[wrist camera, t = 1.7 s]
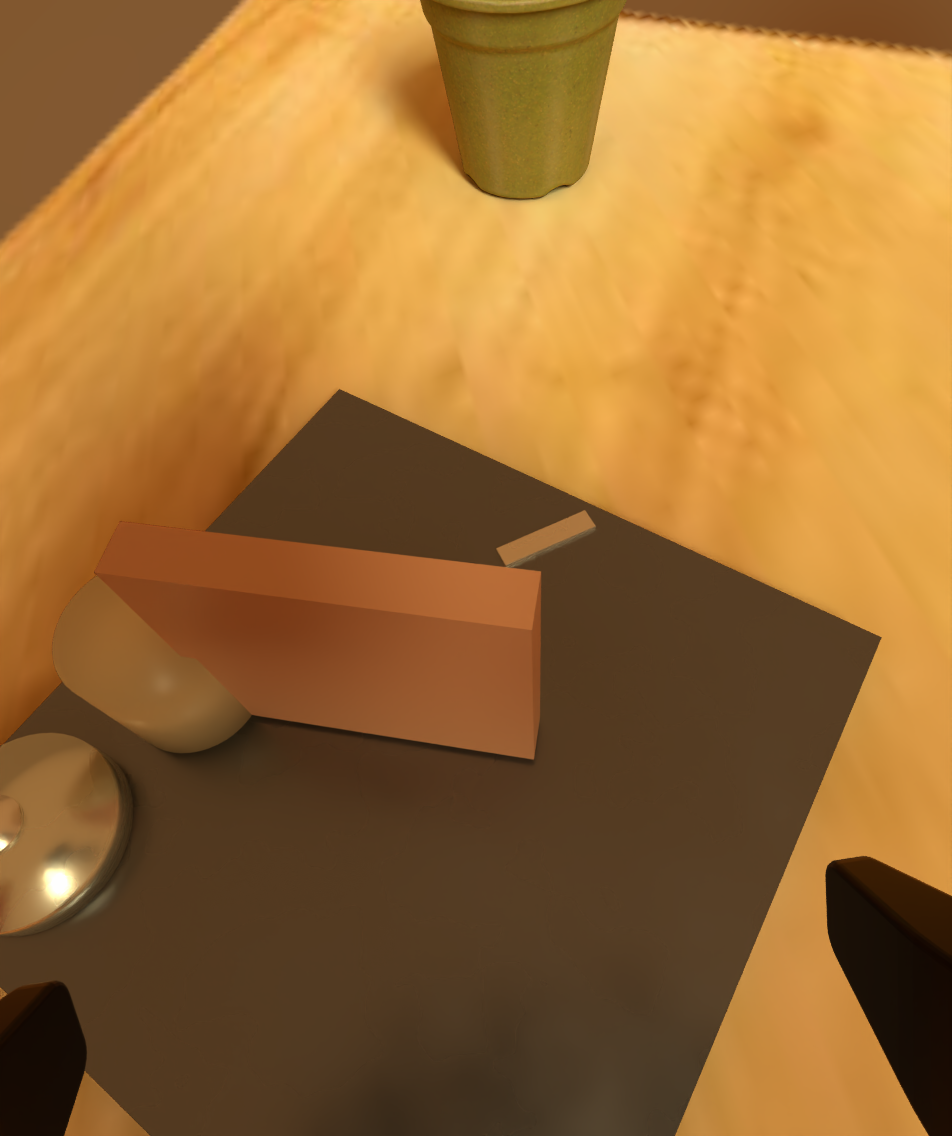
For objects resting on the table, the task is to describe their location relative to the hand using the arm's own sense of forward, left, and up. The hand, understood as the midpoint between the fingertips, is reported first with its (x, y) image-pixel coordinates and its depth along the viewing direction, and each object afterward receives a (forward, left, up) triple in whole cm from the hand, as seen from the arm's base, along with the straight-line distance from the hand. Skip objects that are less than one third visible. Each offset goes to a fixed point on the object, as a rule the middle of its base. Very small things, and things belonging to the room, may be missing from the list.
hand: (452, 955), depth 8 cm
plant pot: (+17, -30, -13) cm, 37 cm away
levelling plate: (+5, -3, -12) cm, 14 cm away
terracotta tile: (+8, -3, -11) cm, 14 cm away
